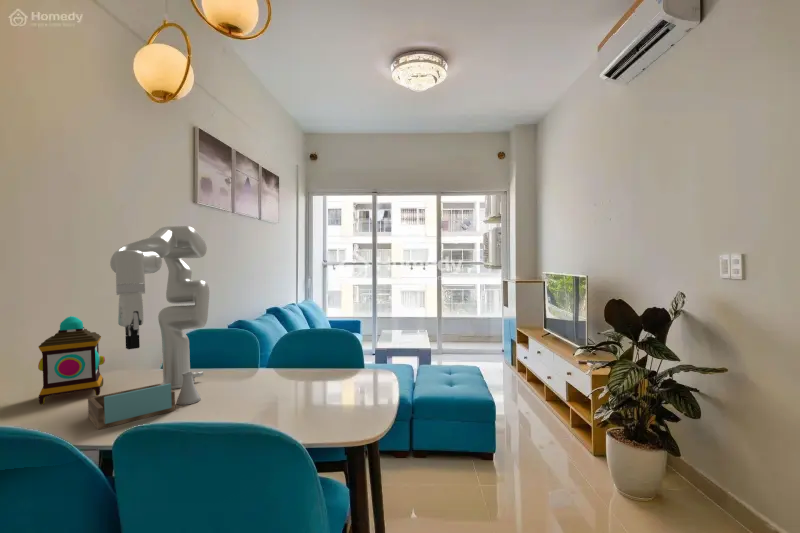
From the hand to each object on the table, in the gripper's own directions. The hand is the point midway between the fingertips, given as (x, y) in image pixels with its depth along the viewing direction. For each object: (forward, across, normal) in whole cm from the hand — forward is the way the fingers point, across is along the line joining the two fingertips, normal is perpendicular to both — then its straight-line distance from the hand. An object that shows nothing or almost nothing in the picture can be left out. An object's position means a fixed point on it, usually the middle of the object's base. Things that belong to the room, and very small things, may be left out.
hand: (132, 348), depth 127 cm
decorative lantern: (+21, -49, -9) cm, 54 cm away
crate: (+21, -3, 0) cm, 21 cm away
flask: (+21, -1, +16) cm, 27 cm away
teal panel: (+20, +5, 0) cm, 20 cm away
